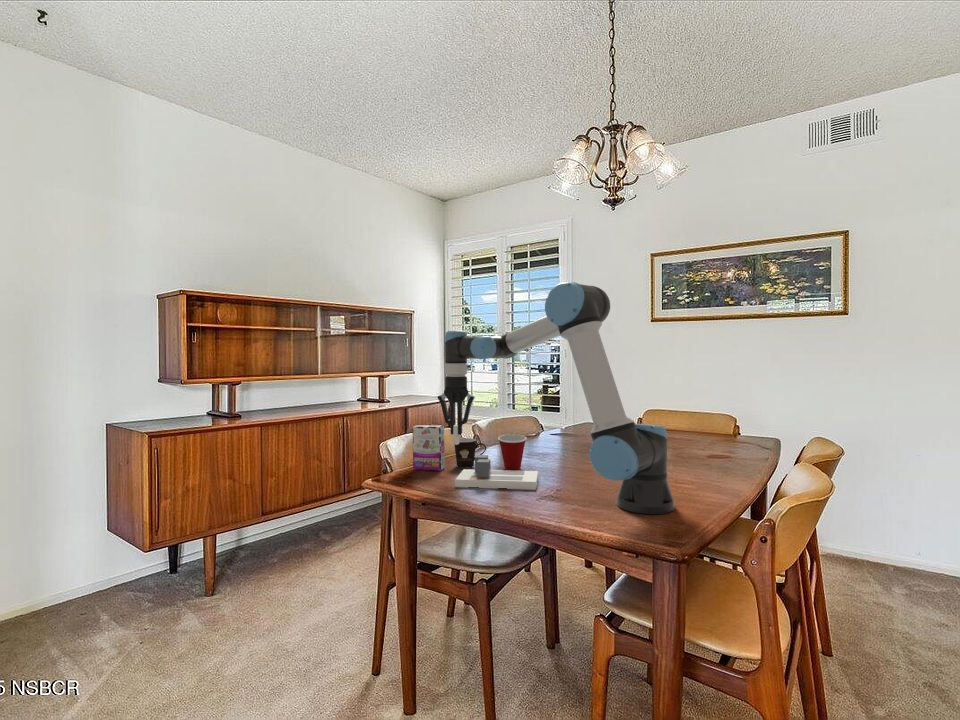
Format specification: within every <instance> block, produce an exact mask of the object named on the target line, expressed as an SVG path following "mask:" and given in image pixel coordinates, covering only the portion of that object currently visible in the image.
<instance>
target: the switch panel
mask: <svg viewBox="0 0 960 720" xmlns="http://www.w3.org/2000/svg"><path fill="white" fill-rule="evenodd" d="M462 469H463V470H461V472H460V473H459V474H458V475H457V476H456V478H455V480H454V485H455V486H454V487H455V488H468V487H479V488H478V489H498V488H507V489H506V490H530V491H531V490H532V491H533V490H534V491H535V490H537V487H538V486H537V485H538V482H537V481H539V471H538V470H506V469H505V470H503V469H491V475H490V477H489V478H483V477H477V472H475V469H470V468H462Z"/></svg>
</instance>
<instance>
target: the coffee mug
mask: <svg viewBox="0 0 960 720" xmlns="http://www.w3.org/2000/svg"><path fill="white" fill-rule="evenodd" d="M480 445H481V446H483V447H484V449H483V451H482V452H481V453H480V454H479V455H484V453H485V452H486V451H487V446H486V444H484V443H477V439H476V438H470V437H469V438H468V437H467V438H465V437H461V438H460V437H459V444H458V445H453V446H454V453H455V461H456V467H457V466H458V467H457V468H459V467H471V468H473V467H475V456H476V449H477V448H478V447H479V446H480ZM472 466H473V467H472Z"/></svg>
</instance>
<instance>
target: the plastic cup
mask: <svg viewBox="0 0 960 720" xmlns="http://www.w3.org/2000/svg"><path fill="white" fill-rule="evenodd" d="M527 438H528V437H526V436H525V435H522V434H504V435H503V434H502V435H500V436H498V437H497V440H498V442H499V445H500V450H501V455H502V460H503V465H504V469H505V470H506V469H507V470H509V471H510V470H512V471H520V470H521V467H522V461H523V458H524V456H523V455H524V449H525V444H526V441H527Z"/></svg>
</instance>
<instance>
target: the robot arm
mask: <svg viewBox="0 0 960 720" xmlns="http://www.w3.org/2000/svg"><path fill="white" fill-rule="evenodd" d="M547 294H548V295H547V297H546V298H545V302H544V303H545V304H544V312H545V315H546V316H543V317H540V318H539V319H536V320H533V321H532V322H530V323H527V324H525V325H523V326H521V327H518V328H516V329H514V330H512V331H509V332H507V333H505V334H502V335H500V336H497V335H496V336H493V335H491V336H490V335H475V336H473V335H472V336H470V335H468V333H467V331H466V330H448V331H446V333H445V336H444V363H445V365H444V366H445V367H444V374H445V376H444V377H445V378H444V382H445V383H444V387H445V388H444V391H443V393H441V395H438V396H437V400H438V402H439V403H440V406H441V410H442V414H443V415H442V416H443V420H444V423H445V424H448V425H449V426H450V435H453V439H452V440H453V446H454V445H458V444H459V439H460V436H461V435H462V434H463V425H465V424H468V421H469V416H470V412H471V408H472V403H473V402H474V400H475V396H474V395H472V394H471V393H470V392H469V390H468V377H467V374H468V359H471V360H473V359H474V360H475V359H476V360H487V359H488V360H489V359H505V360H506V359H511V358H514V357H516V356H517V355H518V354H519V353H520V352H522V351H525V350H528V349H530V348H533V347H535V346H537V345H540V344H542V343H545V342H548V341H550V340H553V339H556V338H557V337H561V338H562V339H564V340H566V341H567V342H568V345H569V348H570V351H571V355H572V358H573V362H574V366H575V368H576V371H577V374H578V377H579V380H580V384H581V387H582V390H583V393H584V397H585V401H586V403H587V407H588V409H589V413H590V416H591V420H592V424H593V427H592V428H591V430H590V435H591V439H592V443H591V445H590V448H589V452H588V457H589V461H590V464H591V466H592V468H593V469H594V471H595V472H596V473H597V474H598V475H599V476H601V477H603V478H604V479H606V480H609V481H613V482H616V481H617V482H620V481H621V483H620V486H619V489H618V492H617V495H616V505H617V506H618V507H619V508H621V509H622V510H625V511H627V512H632V513H636V514H641V515H663V514H668V513H671V512H673V511H674V509H675V501H674V497H673V494H672V490H671V488H670V485H669V482H668V440H669V439H668V434H667V429H666V427H664V426H663V425H658V424H649V423H647V424H646V423H636V422H635V421H634V420H633V419H632V418H629V417H628V416H627V415H626V412H625V409H624V406H623V403H622V399H621V397H620V394H619V391H618V386H617V383H616V380H615V379H614V375H613V372H612V368H611V366H610V363H609V362H610V361H609V360H608V356H607V352H606V350H605V347H604V343H603V341H602V340H603V339H602V338H601V335H600V329H601V327H602V325H603V323H604V322H605V320H606V319H607V317H608V316H609V314H610V310H611V300H610V297H609V295H608V294H607V293H606V292H605V290H603V289H602V288H600V287H598V286H595V285H587V284H582V283H578V282H575V281H569V282H568V281H567V282H566V281H564V282H560V283H558V284H556V285H554V287H553V288H552V289H551V290H550V291H549V292H548V293H547ZM446 399H447V400H448V401H449V410H448V407H447V403H446ZM465 399H466V400H467V402H466V407H465V411H464V414H463V402H464V401H465ZM456 405H457V409H456ZM456 410H457V412H456ZM456 413H457V424H456ZM449 414H450V415H449Z"/></svg>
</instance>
